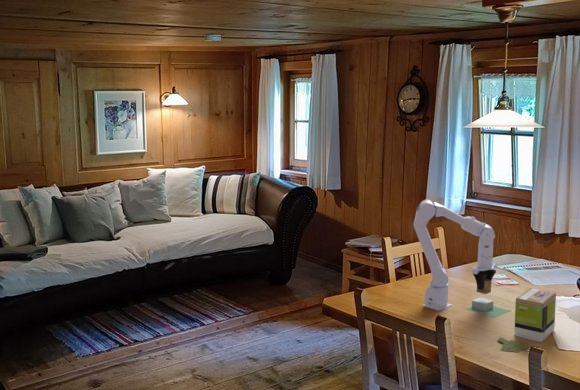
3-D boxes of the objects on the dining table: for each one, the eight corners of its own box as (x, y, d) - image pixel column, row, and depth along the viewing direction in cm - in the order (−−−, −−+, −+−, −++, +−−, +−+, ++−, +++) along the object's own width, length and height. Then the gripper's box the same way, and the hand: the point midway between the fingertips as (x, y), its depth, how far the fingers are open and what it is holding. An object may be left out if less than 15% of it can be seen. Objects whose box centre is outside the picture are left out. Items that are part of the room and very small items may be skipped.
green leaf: (532, 363, 208) (532, 360, 208) (485, 345, 222) (486, 342, 222) (551, 355, 214) (551, 352, 214) (505, 338, 229) (505, 335, 229)
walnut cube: (485, 294, 255) (485, 282, 254) (476, 291, 258) (477, 279, 257) (490, 292, 258) (491, 280, 257) (482, 289, 261) (482, 278, 260)
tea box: (527, 324, 242) (530, 287, 239) (554, 330, 236) (557, 292, 233) (513, 336, 230) (515, 296, 228) (541, 343, 224) (544, 302, 222)
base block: (484, 311, 255) (485, 304, 255) (471, 307, 260) (472, 300, 259) (493, 308, 259) (493, 300, 258) (480, 304, 263) (480, 297, 263)
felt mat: (494, 318, 248) (494, 317, 248) (465, 309, 258) (465, 309, 258) (510, 311, 256) (510, 310, 256) (482, 303, 265) (482, 302, 265)
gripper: (483, 260, 248) (481, 294, 250) (504, 254, 257) (502, 286, 259) (468, 256, 253) (466, 289, 255) (488, 251, 262) (487, 282, 265)
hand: (483, 288), depth 258 cm, fingers closed on walnut cube, 4 cm apart
